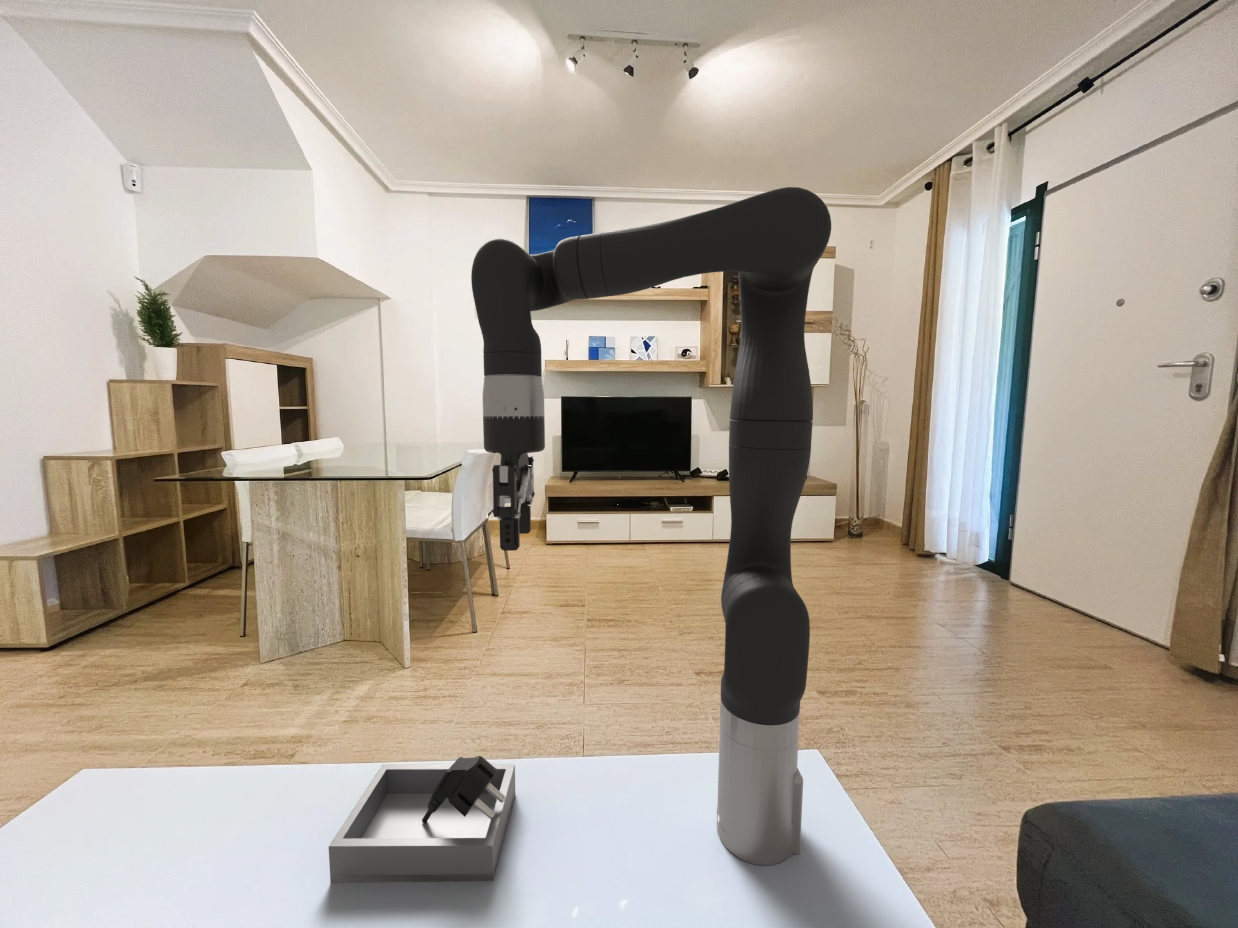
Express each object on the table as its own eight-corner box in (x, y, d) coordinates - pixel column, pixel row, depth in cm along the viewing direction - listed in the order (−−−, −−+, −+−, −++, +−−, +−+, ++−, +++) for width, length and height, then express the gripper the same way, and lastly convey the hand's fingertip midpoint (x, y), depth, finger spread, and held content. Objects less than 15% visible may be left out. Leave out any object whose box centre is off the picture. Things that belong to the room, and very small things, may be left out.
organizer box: (515, 794, 69) (514, 763, 69) (493, 882, 56) (492, 845, 56) (383, 794, 69) (382, 763, 68) (330, 883, 56) (328, 846, 55)
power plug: (433, 799, 66) (474, 735, 63) (477, 839, 64) (521, 776, 62) (404, 833, 60) (447, 765, 58) (451, 878, 59) (497, 810, 56)
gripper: (535, 413, 56) (538, 556, 57) (550, 413, 70) (552, 528, 71) (467, 413, 55) (472, 556, 57) (496, 413, 70) (499, 528, 71)
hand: (516, 540), depth 64 cm, fingers open, 8 cm apart
